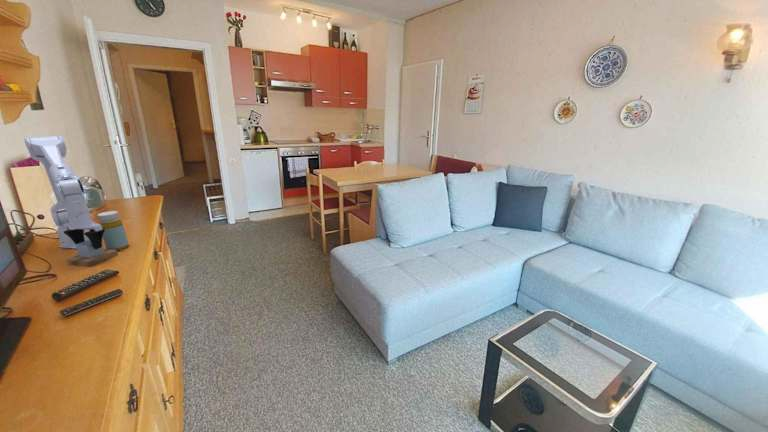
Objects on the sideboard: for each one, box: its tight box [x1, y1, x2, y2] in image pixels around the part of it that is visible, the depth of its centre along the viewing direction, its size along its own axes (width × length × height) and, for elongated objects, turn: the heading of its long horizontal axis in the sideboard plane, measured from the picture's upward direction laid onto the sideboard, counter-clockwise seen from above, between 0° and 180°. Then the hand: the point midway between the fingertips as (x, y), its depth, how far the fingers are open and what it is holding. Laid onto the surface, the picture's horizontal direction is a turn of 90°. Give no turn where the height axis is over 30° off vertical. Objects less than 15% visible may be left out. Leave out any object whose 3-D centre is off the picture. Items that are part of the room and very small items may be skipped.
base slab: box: [66, 248, 119, 268], centre depth 117 cm, size 10×10×2 cm
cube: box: [75, 240, 105, 258], centre depth 116 cm, size 5×5×5 cm
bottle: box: [96, 210, 130, 252], centre depth 125 cm, size 7×7×15 cm
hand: (90, 247), depth 116 cm, fingers open, 7 cm apart
